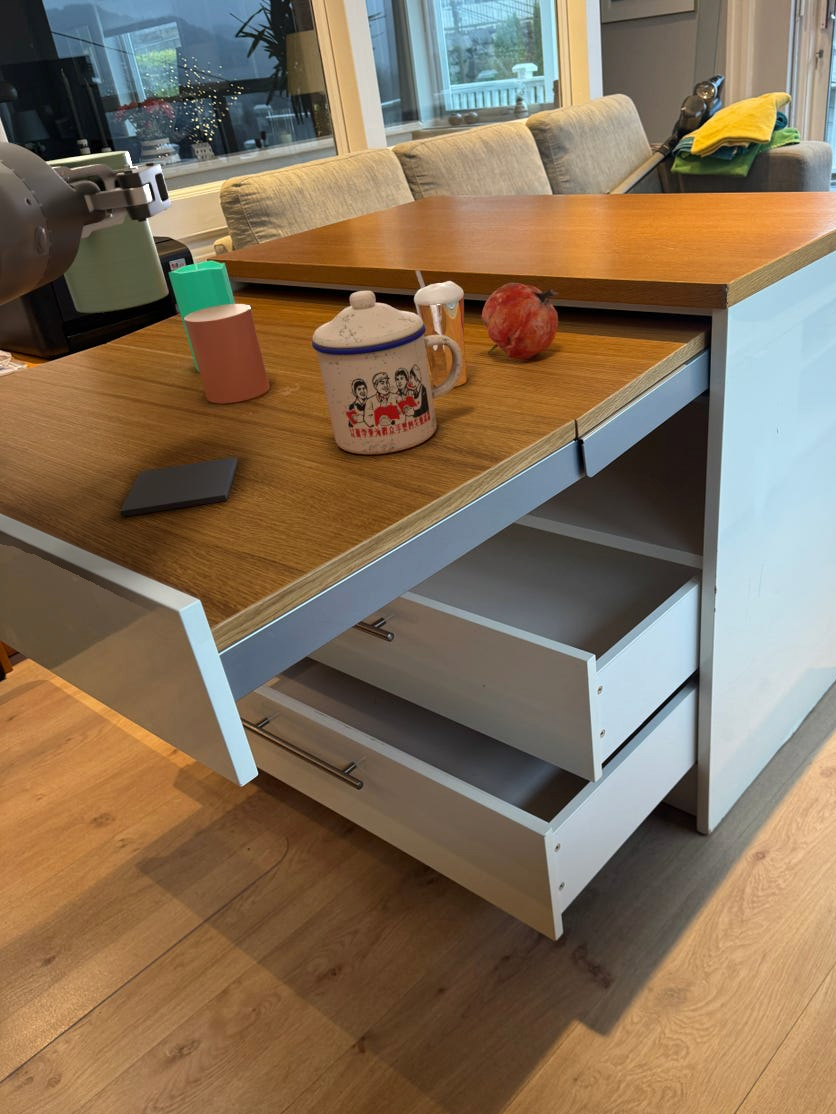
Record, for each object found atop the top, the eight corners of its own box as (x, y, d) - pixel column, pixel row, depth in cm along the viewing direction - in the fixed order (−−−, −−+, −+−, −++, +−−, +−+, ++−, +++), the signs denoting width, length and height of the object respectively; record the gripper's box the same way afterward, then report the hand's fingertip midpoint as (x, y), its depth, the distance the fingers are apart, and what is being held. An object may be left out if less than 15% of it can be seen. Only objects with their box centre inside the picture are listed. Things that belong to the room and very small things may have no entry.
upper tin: (65, 318, 61) (13, 169, 56) (88, 298, 66) (42, 161, 61) (160, 304, 61) (116, 155, 56) (175, 285, 66) (136, 148, 61)
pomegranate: (483, 389, 91) (544, 332, 83) (447, 325, 90) (505, 263, 83) (528, 374, 95) (590, 320, 88) (494, 314, 95) (553, 255, 88)
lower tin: (203, 407, 89) (179, 325, 84) (211, 388, 94) (189, 309, 90) (267, 398, 89) (246, 315, 84) (272, 379, 94) (252, 300, 90)
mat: (121, 517, 68) (119, 511, 67) (141, 476, 74) (140, 471, 74) (226, 500, 68) (225, 494, 68) (237, 462, 75) (236, 456, 74)
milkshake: (451, 371, 89) (437, 264, 84) (483, 380, 86) (470, 270, 80) (413, 383, 87) (396, 275, 82) (444, 394, 84) (428, 281, 78)
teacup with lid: (348, 466, 71) (316, 315, 65) (322, 432, 78) (292, 294, 72) (487, 431, 74) (471, 284, 68) (451, 402, 81) (433, 266, 75)
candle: (212, 376, 98) (179, 259, 91) (187, 368, 102) (153, 256, 95) (259, 360, 101) (230, 247, 94) (233, 353, 105) (204, 244, 98)
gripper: (78, 129, 45) (186, 111, 59) (-184, 165, 46) (-18, 139, 60) (127, 286, 49) (217, 234, 63) (-116, 314, 50) (25, 257, 64)
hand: (102, 187), depth 61 cm, fingers closed on upper tin, 6 cm apart
